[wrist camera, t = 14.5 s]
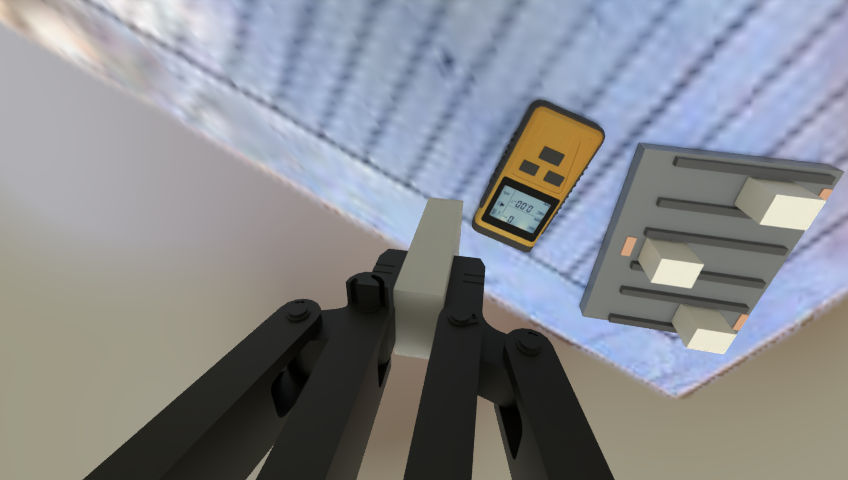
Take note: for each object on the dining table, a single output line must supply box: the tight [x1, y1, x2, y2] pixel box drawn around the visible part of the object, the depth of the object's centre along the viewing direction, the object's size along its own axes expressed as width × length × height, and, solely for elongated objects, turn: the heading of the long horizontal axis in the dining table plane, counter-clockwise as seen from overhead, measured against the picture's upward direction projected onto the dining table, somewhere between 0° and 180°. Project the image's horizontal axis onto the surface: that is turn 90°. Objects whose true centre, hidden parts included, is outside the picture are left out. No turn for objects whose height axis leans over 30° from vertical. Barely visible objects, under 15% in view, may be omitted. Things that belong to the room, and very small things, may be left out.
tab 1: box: [638, 237, 704, 288], centre depth 41 cm, size 3×4×4 cm
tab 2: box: [671, 304, 737, 354], centre depth 45 cm, size 3×4×4 cm
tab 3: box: [734, 176, 826, 231], centre depth 36 cm, size 3×4×4 cm
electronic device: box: [472, 100, 605, 252], centre depth 43 cm, size 8×16×3 cm, turn 159°
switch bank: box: [580, 143, 844, 334], centre depth 43 cm, size 22×18×3 cm
